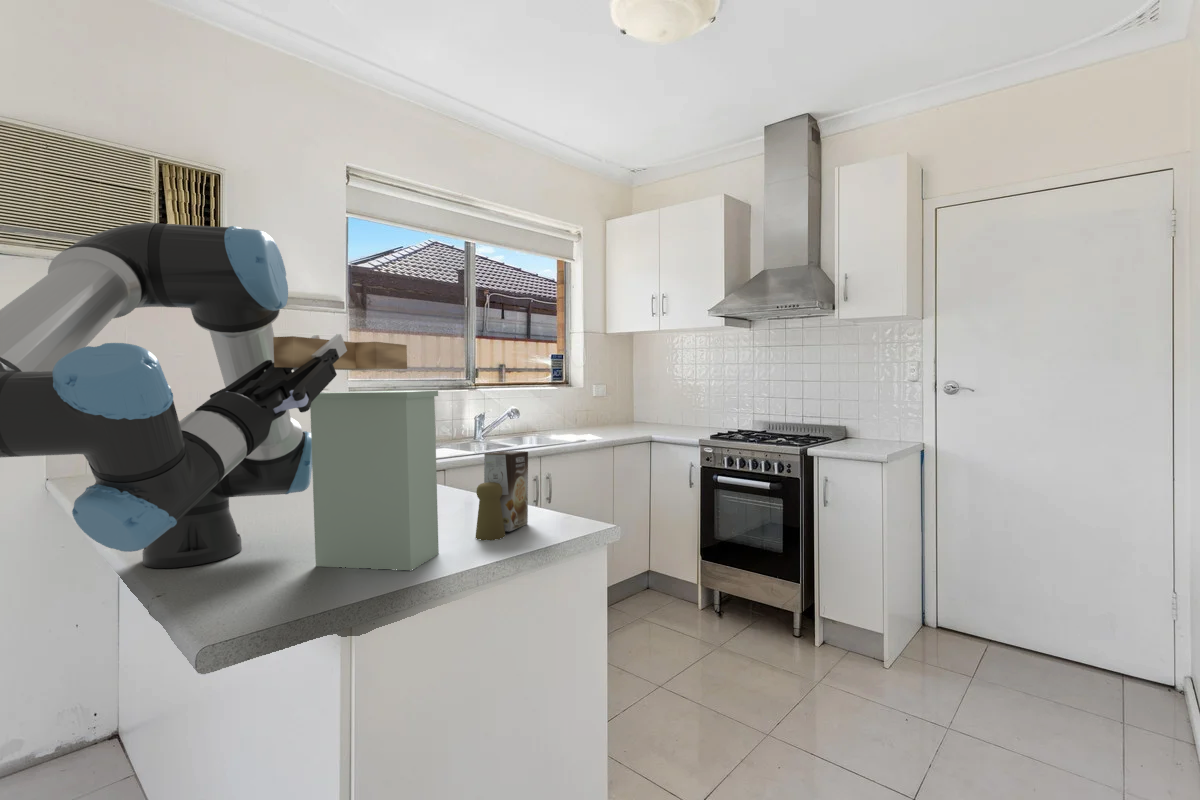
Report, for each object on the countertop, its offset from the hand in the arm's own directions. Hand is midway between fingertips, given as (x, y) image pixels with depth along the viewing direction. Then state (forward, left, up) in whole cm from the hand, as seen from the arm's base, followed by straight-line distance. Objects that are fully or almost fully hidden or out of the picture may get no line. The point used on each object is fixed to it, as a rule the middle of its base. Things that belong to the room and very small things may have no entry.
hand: (330, 343), depth 88 cm
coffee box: (+11, +41, -38) cm, 57 cm away
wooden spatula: (0, +2, -4) cm, 4 cm away
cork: (+10, +34, -38) cm, 52 cm away
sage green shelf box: (-4, +17, -38) cm, 41 cm away
